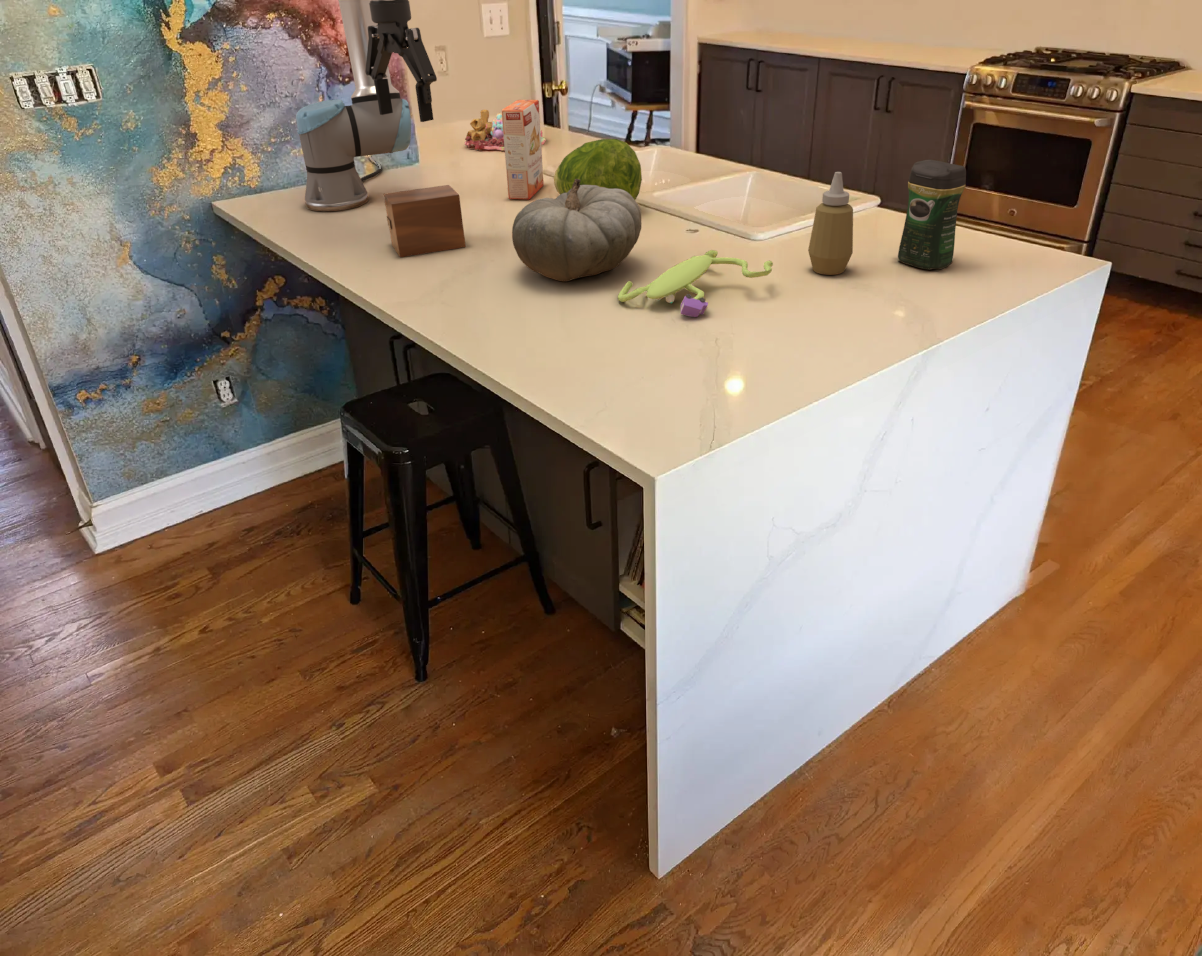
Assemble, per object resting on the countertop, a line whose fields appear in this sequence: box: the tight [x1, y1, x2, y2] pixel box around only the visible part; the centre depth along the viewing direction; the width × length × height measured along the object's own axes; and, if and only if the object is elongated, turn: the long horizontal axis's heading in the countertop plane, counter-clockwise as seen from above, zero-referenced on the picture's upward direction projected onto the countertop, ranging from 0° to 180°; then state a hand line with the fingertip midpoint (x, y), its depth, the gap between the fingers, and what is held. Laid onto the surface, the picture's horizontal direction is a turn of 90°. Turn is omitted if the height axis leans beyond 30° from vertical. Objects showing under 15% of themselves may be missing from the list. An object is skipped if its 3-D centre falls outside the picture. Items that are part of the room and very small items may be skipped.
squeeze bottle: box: [807, 171, 854, 276], centre depth 162 cm, size 8×8×18 cm
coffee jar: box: [897, 159, 967, 270], centre depth 163 cm, size 10×8×19 cm
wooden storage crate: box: [383, 184, 466, 258], centre depth 187 cm, size 9×14×11 cm, turn 112°
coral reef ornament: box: [464, 109, 546, 151], centre depth 271 cm, size 25×24×9 cm
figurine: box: [617, 249, 774, 318], centre depth 158 cm, size 18×27×6 cm
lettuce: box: [553, 138, 643, 201], centre depth 204 cm, size 17×23×16 cm
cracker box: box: [501, 99, 545, 201], centre depth 217 cm, size 14×6×21 cm, turn 168°
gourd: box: [511, 179, 642, 282], centre depth 169 cm, size 25×25×17 cm
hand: (406, 117), depth 180 cm, fingers open, 13 cm apart
